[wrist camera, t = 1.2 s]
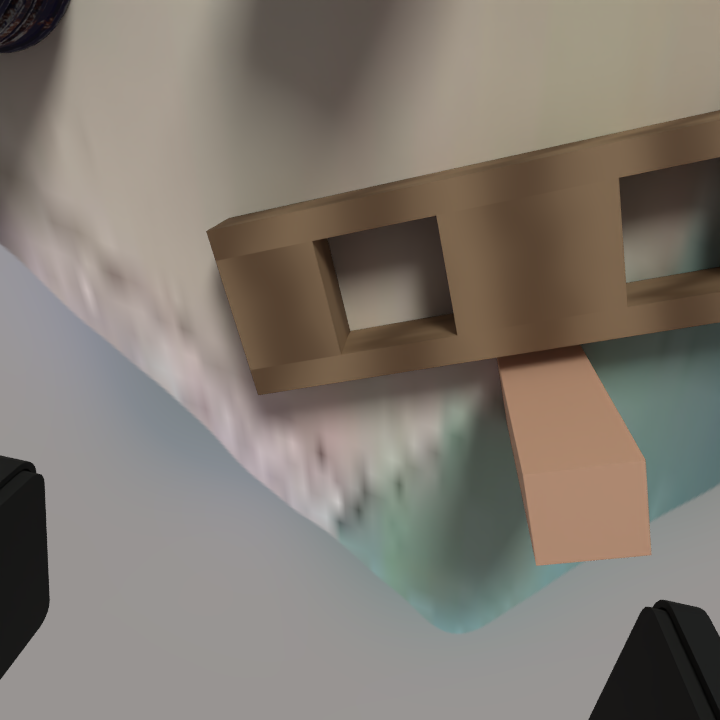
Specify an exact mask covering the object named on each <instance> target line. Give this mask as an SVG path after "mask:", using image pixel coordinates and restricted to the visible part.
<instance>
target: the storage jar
mask: <svg viewBox="0 0 720 720" xmlns="http://www.w3.org/2000/svg"><path fill="white" fill-rule="evenodd" d="M69 1H70V0H0V53H11V52H16V51H20V50H24V49H26V48H29V47H31V46H33V45H35V44H37V43H38V42H40V41H41V40H42V39H44V38H45V37H47V36H48V35H49V34H50V32H51V31H52V30H53V29H54V28H55V27H56V26H57V24H58V23H59V21H60V20H61V18H62V17H63V15H64V13H65V11H66V9H67V6H68V4H69Z"/></svg>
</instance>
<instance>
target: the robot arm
mask: <svg viewBox="0 0 720 720" xmlns="http://www.w3.org/2000/svg"><path fill="white" fill-rule="evenodd" d="M49 601H50V599H49V576H48V554H47V531H46V509H45V486H44V478H43V476H42V475H40V474H37V473H36V468H35V466H34V465H33V464H32V463H31V462H28V461H23V460H19V459H14V458H9V457H5V456H0V679H1V678H2V677H3V675H4V674H5V673H6V671H7V670H8V669H9V667H10V666H11V665H12V663H13V662H14V661H15V659H16V658H17V657H18V655H19V654H20V653H21V651H22V650H23V649H24V647H25V646H26V645H27V643H28V642H29V641H30V639H31V638H32V637H33V636H34V634H35V633H36V632H37V630H38V629H39V628H40V626H41V624H42V623H43V621H44V619H45V617H46V614H47V612H48V608H49ZM589 720H720V637H719V635H718V633H717V631H716V629H715V627H714V626H713V624H712V622H711V620H710V618H709V616H708V615H707V613H706V612H705V611H704V610H702V609H701V608H698V607H694V606H690V605H685V604H680V603H675V602H671V601H667V600H659V601H658V602H656V603H655V604H654V606H653V607H645V608H644V609H643V610H642V611H641V613H640V615H639V617H638V619H637V621H636V623H635V625H634V627H633V629H632V631H631V633H630V635H629V638H628V640H627V641H626V644H625V646H624V648H623V650H622V652H621V654H620V656H619V658H618V660H617V662H616V664H615V666H614V668H613V670H612V672H611V674H610V676H609V678H608V681H607V683H606V685H605V687H604V689H603V691H602V693H601V695H600V697H599V699H598V701H597V703H596V705H595V707H594V709H593V711H592V714H591V715H590V718H589Z"/></svg>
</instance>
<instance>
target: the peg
mask: <svg viewBox="0 0 720 720" xmlns="http://www.w3.org/2000/svg"><path fill="white" fill-rule="evenodd" d="M497 362H498V369H499V375H500V382H501V388H502V395H503V401H504V408H505V414H506V421H507V426H508V431H509V436H510V440H511V445H512V450H513V455H514V460H515V465H516V469H517V474H518V479H519V484H520V489H521V494H522V498H523V503H524V508H525V513H526V518H527V523H528V527H529V532H530V537H531V542H532V547H533V552H534V556H535V561H536V566H538V565H549V564H560V563H571V562H582V561H592V560H603V559H614V558H625V557H636V556H647V555H651V543H650V525H649V509H648V493H647V477H646V461H645V458H644V457H643V455H642V453H641V451H640V450H639V448H638V446H637V444H636V442H635V441H634V439H633V437H632V435H631V434H630V432H629V430H628V428H627V427H626V425H625V423H624V421H623V420H622V418H621V416H620V414H619V413H618V411H617V409H616V407H615V405H614V404H613V402H612V400H611V398H610V397H609V395H608V393H607V391H606V390H605V388H604V386H603V384H602V383H601V381H600V379H599V377H598V376H597V374H596V372H595V370H594V368H593V367H592V365H591V363H590V361H589V360H588V358H587V356H586V354H585V353H584V351H583V349H582V347H581V346H580V344H579V345H573V346H566V347H560V348H554V349H547V350H541V351H535V352H528V353H522V354H516V355H509V356H503V357H497Z"/></svg>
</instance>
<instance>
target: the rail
mask: <svg viewBox="0 0 720 720" xmlns="http://www.w3.org/2000/svg"><path fill="white" fill-rule="evenodd" d="M717 157H720V110H719V111H714V112H710V113H705V114H700V115H696V116H691V117H687V118H682V119H678V120H673V121H669V122H664V123H660V124H655V125H650V126H646V127H641V128H637V129H632V130H628V131H623V132H619V133H614V134H610V135H605V136H600V137H596V138H591V139H587V140H582V141H578V142H573V143H569V144H564V145H560V146H555V147H550V148H546V149H541V150H537V151H532V152H528V153H523V154H519V155H514V156H510V157H505V158H500V159H496V160H491V161H487V162H482V163H478V164H473V165H469V166H464V167H460V168H455V169H450V170H446V171H441V172H437V173H432V174H428V175H423V176H419V177H414V178H409V179H405V180H400V181H396V182H391V183H387V184H382V185H378V186H373V187H369V188H364V189H359V190H355V191H350V192H346V193H341V194H337V195H332V196H328V197H323V198H319V199H314V200H309V201H305V202H300V203H296V204H291V205H287V206H282V207H278V208H273V209H269V210H264V211H259V212H255V213H250V214H246V215H241V216H237V217H232V218H228V219H227V220H225V221H223V222H221V223H220V224H218V225H216V226H215V227H213V228H211V229H209V230H208V231H206V232H207V235H208V238H209V241H210V244H211V248H212V251H213V254H214V257H215V260H216V263H217V266H218V270H219V273H220V276H221V279H222V282H223V285H224V289H225V292H226V295H227V298H228V301H229V304H230V307H231V311H232V314H233V317H234V320H235V323H236V326H237V330H238V333H239V336H240V339H241V342H242V345H243V348H244V352H245V355H246V358H247V361H248V364H249V367H250V370H251V374H252V377H253V380H254V383H255V386H256V389H257V393H258V395H262V394H269V393H275V392H281V391H288V390H294V389H300V388H307V387H313V386H319V385H326V384H332V383H338V382H345V381H351V380H357V379H364V378H370V377H376V376H383V375H389V374H395V373H402V372H408V371H414V370H421V369H427V368H433V367H440V366H446V365H452V364H459V363H465V362H471V361H478V360H484V359H490V358H497V357H503V356H509V355H516V354H522V353H528V352H535V351H541V350H547V349H554V348H560V347H566V346H573V345H579V344H585V343H592V342H598V341H604V340H611V339H617V338H623V337H630V336H636V335H642V334H649V333H655V332H661V331H668V330H674V329H680V328H687V327H693V326H699V325H706V324H712V323H718V322H720V267H716V268H710V269H705V270H699V271H693V272H687V273H682V274H676V275H670V276H664V277H659V278H653V279H647V280H641V281H636V282H630V283H626V277H625V262H624V248H623V233H622V218H621V203H620V188H619V178H620V177H625V176H630V175H635V174H640V173H645V172H650V171H654V170H659V169H664V168H669V167H674V166H679V165H683V164H688V163H693V162H698V161H703V160H708V159H713V158H717ZM431 216H436V217H437V223H438V228H439V234H440V239H441V245H442V251H443V256H444V262H445V268H446V273H447V279H448V285H449V290H450V296H451V301H452V307H453V313H452V314H446V315H440V316H435V317H429V318H423V319H417V320H412V321H406V322H400V323H394V324H389V325H383V326H377V327H371V328H366V329H360V330H354V331H350V329H349V325H348V321H347V316H346V312H345V308H344V304H343V300H342V296H341V292H340V288H339V284H338V280H337V276H336V272H335V268H334V264H333V259H332V255H331V251H330V247H329V243H328V239H327V238H330V237H334V236H339V235H344V234H349V233H354V232H359V231H363V230H368V229H373V228H378V227H383V226H388V225H393V224H397V223H402V222H407V221H412V220H417V219H422V218H426V217H431Z"/></svg>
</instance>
